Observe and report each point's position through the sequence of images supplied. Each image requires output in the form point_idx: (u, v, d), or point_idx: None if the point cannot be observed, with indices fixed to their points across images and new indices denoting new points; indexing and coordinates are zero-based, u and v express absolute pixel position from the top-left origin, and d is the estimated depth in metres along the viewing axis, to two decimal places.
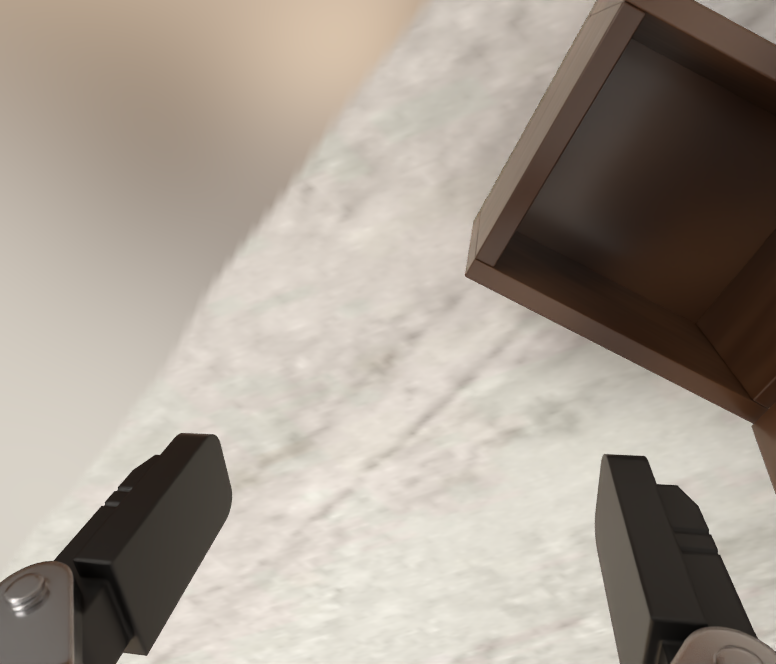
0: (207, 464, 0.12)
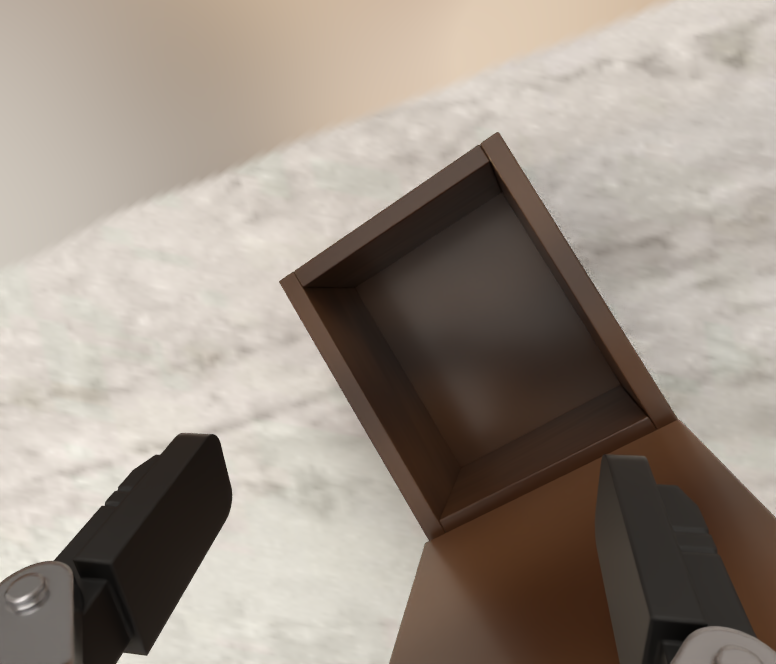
0: (207, 464, 0.12)
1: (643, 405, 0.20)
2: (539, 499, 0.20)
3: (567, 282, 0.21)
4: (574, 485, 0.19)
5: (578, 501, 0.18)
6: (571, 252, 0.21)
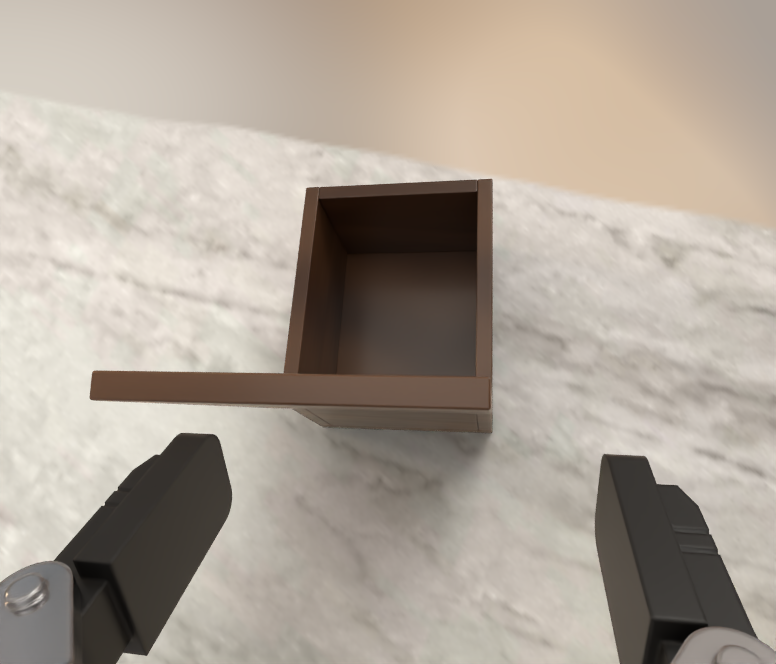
0: (207, 464, 0.12)
1: None
2: None
3: (477, 282, 0.29)
4: None
5: None
6: (490, 266, 0.29)
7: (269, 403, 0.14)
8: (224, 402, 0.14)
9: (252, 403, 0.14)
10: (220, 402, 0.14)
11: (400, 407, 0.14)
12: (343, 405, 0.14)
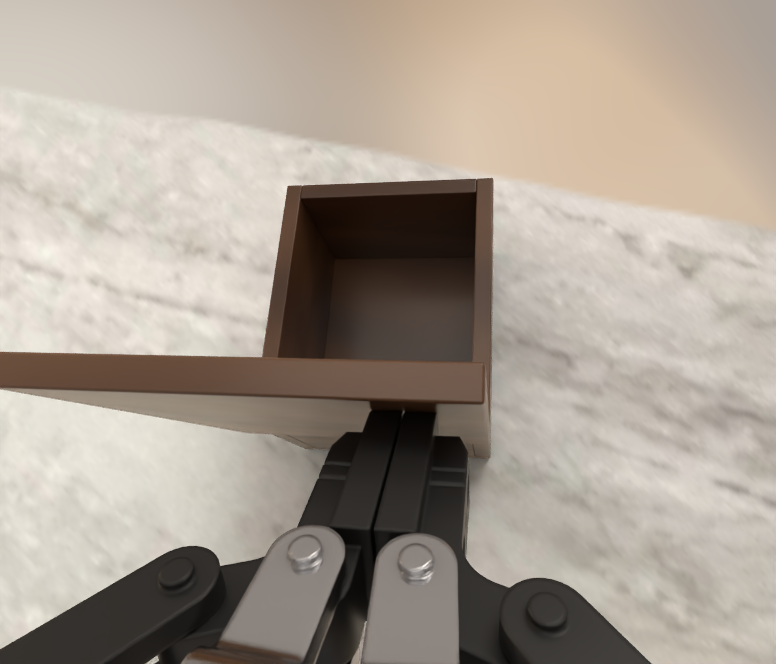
0: None
1: None
2: None
3: (475, 294, 0.26)
4: None
5: None
6: (490, 276, 0.26)
7: (206, 393, 0.11)
8: (151, 391, 0.11)
9: (185, 393, 0.11)
10: (146, 391, 0.12)
11: (369, 399, 0.11)
12: (298, 396, 0.11)
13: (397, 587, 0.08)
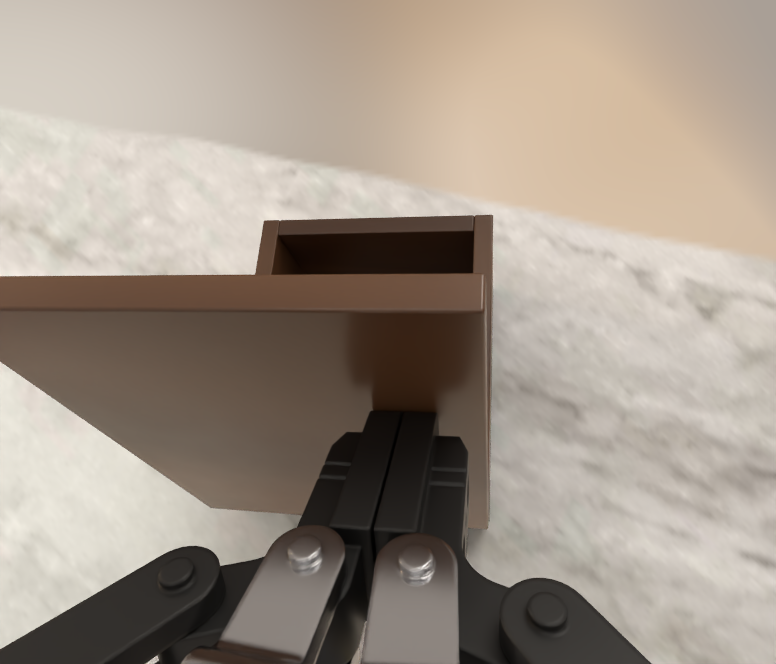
0: None
1: None
2: None
3: None
4: None
5: None
6: (489, 328, 0.23)
7: (166, 308, 0.10)
8: (104, 308, 0.10)
9: (142, 309, 0.10)
10: (99, 309, 0.10)
11: (352, 311, 0.09)
12: (270, 310, 0.09)
13: (397, 587, 0.08)
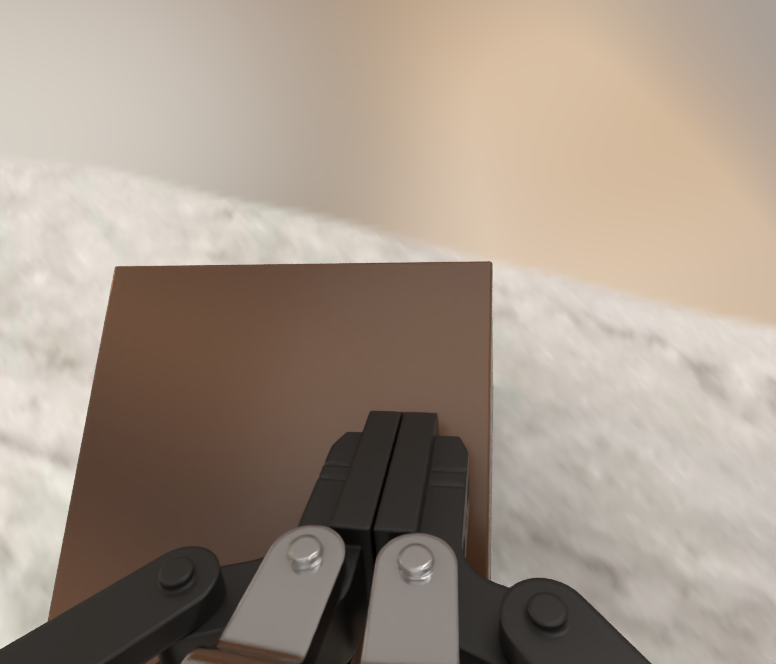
0: None
1: None
2: None
3: None
4: None
5: None
6: None
7: None
8: None
9: (268, 265, 0.15)
10: (238, 265, 0.15)
11: (407, 263, 0.14)
12: (354, 264, 0.15)
13: (397, 587, 0.08)
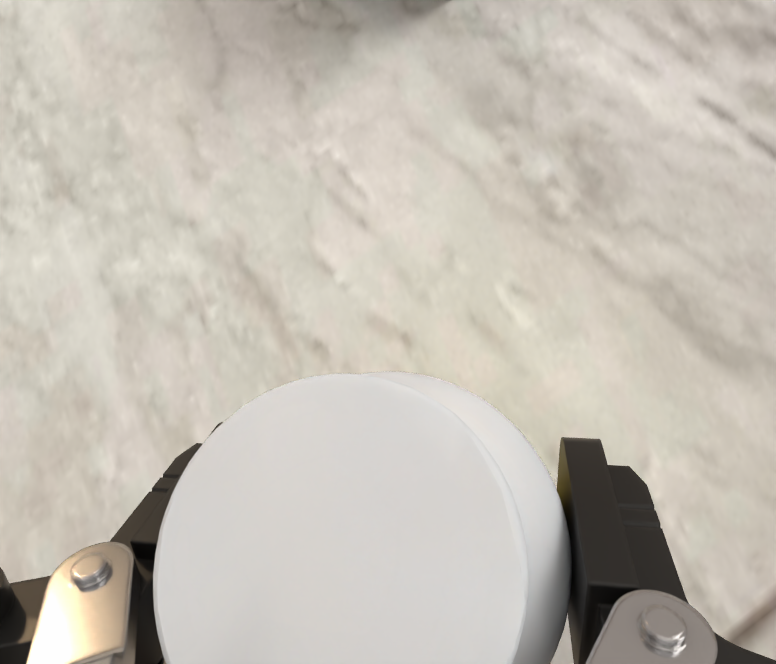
0: None
1: None
2: None
3: None
4: None
5: None
6: None
7: None
8: None
9: None
10: None
11: None
12: None
13: (631, 645, 0.07)
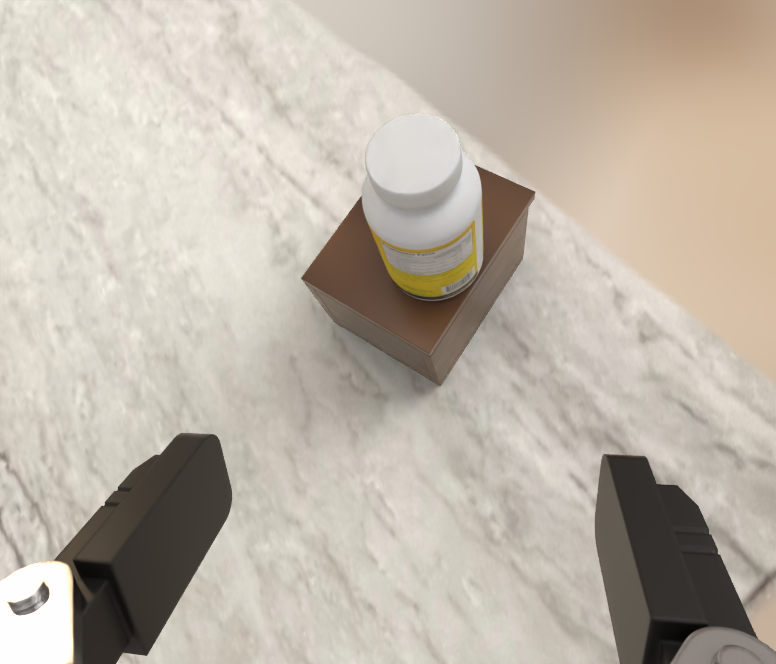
0: (207, 464, 0.12)
1: None
2: None
3: None
4: None
5: None
6: None
7: None
8: None
9: None
10: None
11: None
12: None
13: None
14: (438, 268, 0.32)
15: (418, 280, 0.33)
